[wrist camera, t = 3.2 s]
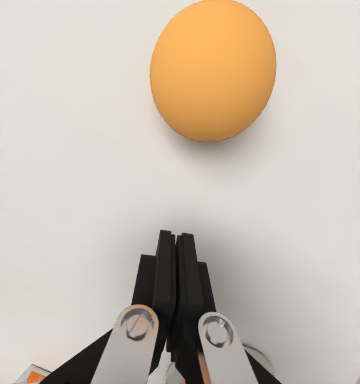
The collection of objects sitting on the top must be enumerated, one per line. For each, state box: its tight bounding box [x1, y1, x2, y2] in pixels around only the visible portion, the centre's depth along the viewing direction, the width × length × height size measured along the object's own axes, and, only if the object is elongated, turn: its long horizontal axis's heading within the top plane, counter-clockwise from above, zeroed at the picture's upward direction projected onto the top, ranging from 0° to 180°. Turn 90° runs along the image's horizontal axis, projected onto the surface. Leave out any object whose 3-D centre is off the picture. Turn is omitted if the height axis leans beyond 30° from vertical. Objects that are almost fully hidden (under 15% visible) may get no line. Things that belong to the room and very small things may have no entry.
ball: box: [150, 0, 276, 142], centre depth 10 cm, size 6×6×6 cm
